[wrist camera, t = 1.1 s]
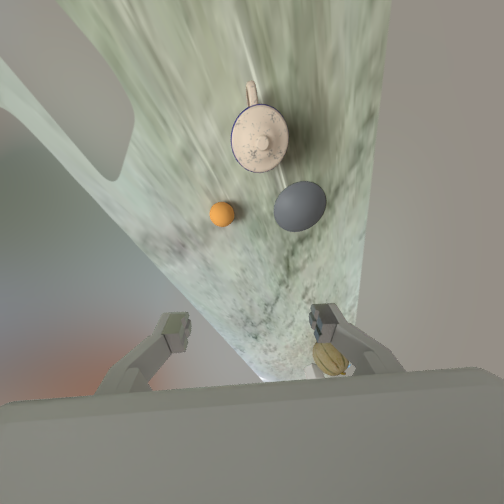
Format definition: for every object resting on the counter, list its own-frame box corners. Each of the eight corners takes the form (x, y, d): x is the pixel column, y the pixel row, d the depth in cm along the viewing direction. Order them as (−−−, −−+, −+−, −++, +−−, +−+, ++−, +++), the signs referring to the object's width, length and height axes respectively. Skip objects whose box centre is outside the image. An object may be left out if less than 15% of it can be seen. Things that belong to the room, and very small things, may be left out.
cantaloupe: (306, 336, 82) (319, 373, 70) (338, 328, 80) (357, 364, 68) (309, 350, 90) (321, 385, 78) (338, 343, 89) (355, 377, 77)
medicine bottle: (303, 368, 103) (310, 393, 94) (310, 363, 100) (319, 388, 90) (312, 369, 106) (320, 394, 96) (320, 364, 103) (329, 389, 93)
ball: (209, 198, 41) (206, 207, 36) (233, 198, 41) (233, 207, 37) (212, 220, 44) (210, 231, 39) (234, 220, 44) (234, 230, 40)
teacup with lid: (279, 158, 37) (295, 170, 28) (236, 167, 37) (238, 182, 28) (273, 81, 30) (292, 61, 21) (221, 92, 30) (216, 79, 21)
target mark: (276, 181, 40) (276, 181, 39) (331, 181, 41) (332, 181, 41) (271, 232, 47) (271, 232, 47) (318, 230, 48) (318, 231, 48)
